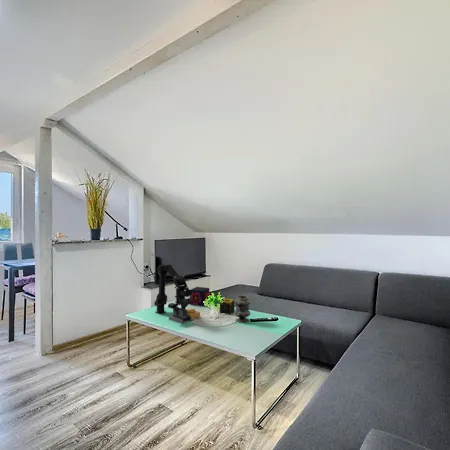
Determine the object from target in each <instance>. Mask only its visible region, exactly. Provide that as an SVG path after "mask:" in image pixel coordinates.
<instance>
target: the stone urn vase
mask: <svg viewBox="0 0 450 450" xmlns="http://www.w3.org/2000/svg"><path fill="white" fill-rule="evenodd" d="M250 304H251V300H250V299H249V296H247V295H237V296H236V299H234V305H235V309H234V310H235V311H234V312H233V313H234V315H235V316H236V317H238V318H236V319H235V321H236V322H237V323H248V322H249V321H250V319H249V318H248V317H249V316H250V315H251V311H250V309H249V307H250V306H249V305H250Z"/></svg>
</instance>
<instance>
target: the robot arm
mask: <svg viewBox="0 0 450 450" xmlns="http://www.w3.org/2000/svg"><path fill="white" fill-rule="evenodd" d="M156 271H157V272H156V273H157V274H158V276H159V277H158V279H159V281H158V294H157V295H156V299H155V300H154V302H153V304H154V306H155V307H156V311H154V312H155V313H156V314H164V313H166V310H165V305H167V301H168V295H167V293H166V276H167V274H169V276H170V277H171V278H172V279H173V280H172V281H173V283H174V285H175V286H174V289H175V296H174V298H175V303H174V302H170V303H168V305H167V307H168V308H169V309H171V310H173V309H174V311H175V313H176V315H177V316H178V309H179V308H183V309H187V307H188V306H189V305H190V304H191V300H190V294H191V291H190V290H191V289H190V288H189V287H188V284H187V282H186V279H185V278H184V277H183V276H181V275H179V273H177V271H176V270H175V268H174V267H173V265H172V264H159V265H158V266H157V267H156ZM187 297H188V298H187ZM179 306H180V307H179Z"/></svg>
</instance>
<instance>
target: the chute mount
mask: <svg viewBox="0 0 450 450" xmlns="http://www.w3.org/2000/svg"><path fill="white" fill-rule="evenodd" d="M168 320H170V321H172V322H175V323H178V324H180V325H183V324H186V323H188V322H192V321H193V319H192V317H190V316H187V318H185V319H180V318H177V317H174V316H173V315H168Z"/></svg>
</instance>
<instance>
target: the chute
mask: <svg viewBox="0 0 450 450" xmlns="http://www.w3.org/2000/svg"><path fill="white" fill-rule="evenodd" d="M186 309H187V308H185V309H183V308H181V307H179V309H178V316H177V315H176V313H175V311H174V309H172V316H174V317H177V318H180V319H185V318H187V310H186Z"/></svg>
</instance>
